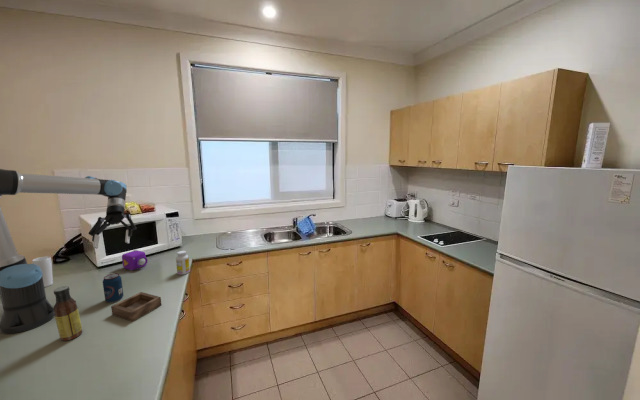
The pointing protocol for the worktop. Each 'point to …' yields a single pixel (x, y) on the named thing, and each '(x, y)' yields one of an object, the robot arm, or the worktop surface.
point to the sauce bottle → (66, 314)
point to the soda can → (113, 288)
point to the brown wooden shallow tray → (136, 306)
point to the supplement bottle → (182, 263)
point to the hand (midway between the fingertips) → (111, 245)
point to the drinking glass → (45, 269)
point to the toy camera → (134, 260)
